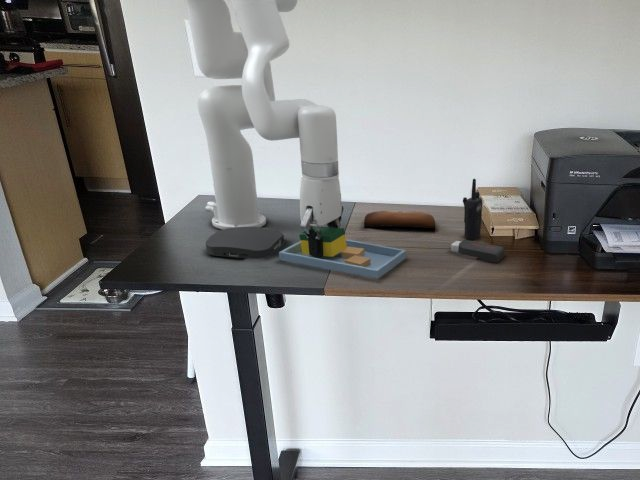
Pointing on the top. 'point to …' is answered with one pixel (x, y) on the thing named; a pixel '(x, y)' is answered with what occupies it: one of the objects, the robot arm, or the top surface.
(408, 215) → the sunglasses case
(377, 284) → the top surface
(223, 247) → the media streaming box
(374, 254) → the tray
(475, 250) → the usb drive
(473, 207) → the two-way radio
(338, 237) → the sponge
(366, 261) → the crumb
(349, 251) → the crumb
